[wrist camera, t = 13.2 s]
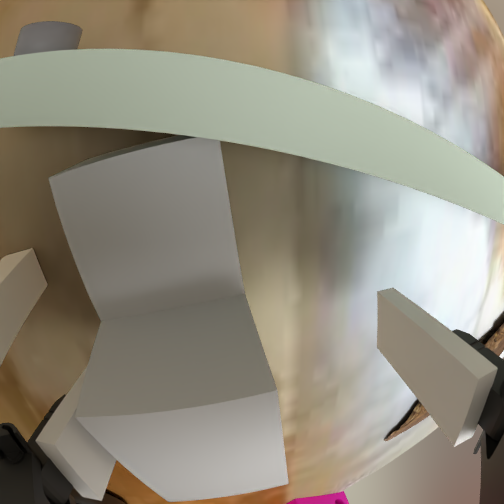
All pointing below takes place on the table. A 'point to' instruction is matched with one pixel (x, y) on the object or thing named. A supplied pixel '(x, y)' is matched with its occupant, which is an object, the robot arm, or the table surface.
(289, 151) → the spring door
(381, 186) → the table surface
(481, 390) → the robot arm
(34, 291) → the wall frame
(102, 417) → the white stepped block
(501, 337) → the wooden fragment
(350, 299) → the table surface
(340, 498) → the magenta saddle bracket
